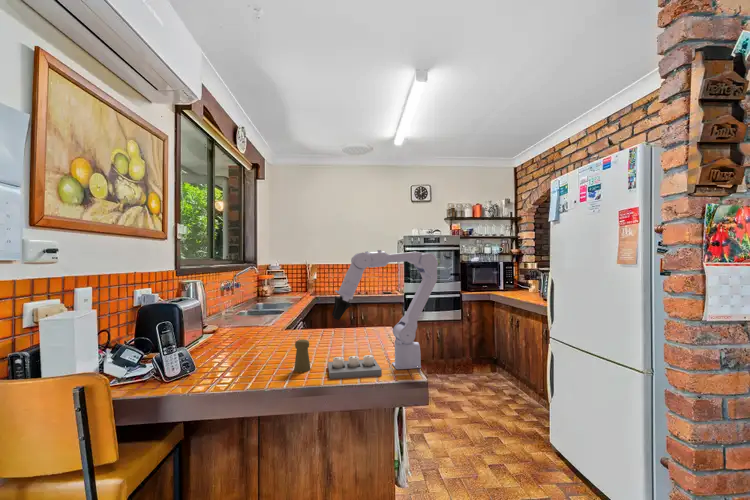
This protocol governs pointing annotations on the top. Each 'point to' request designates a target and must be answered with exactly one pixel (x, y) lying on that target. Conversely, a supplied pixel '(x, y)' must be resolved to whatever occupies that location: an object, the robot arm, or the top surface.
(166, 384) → the top surface
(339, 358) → the button
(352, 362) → the button
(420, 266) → the robot arm
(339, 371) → the button panel
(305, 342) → the cork
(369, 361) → the button
